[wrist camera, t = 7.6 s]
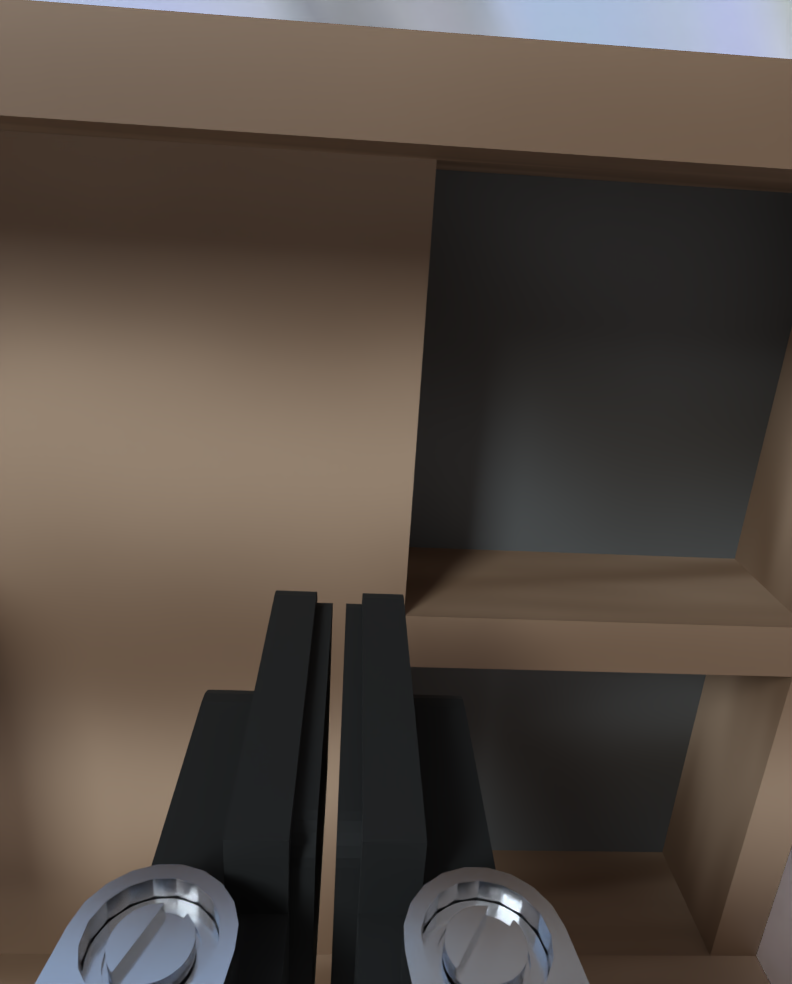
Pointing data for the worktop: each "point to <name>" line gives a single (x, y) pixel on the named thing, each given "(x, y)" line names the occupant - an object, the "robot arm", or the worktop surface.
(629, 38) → the worktop surface
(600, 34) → the worktop surface
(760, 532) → the box
